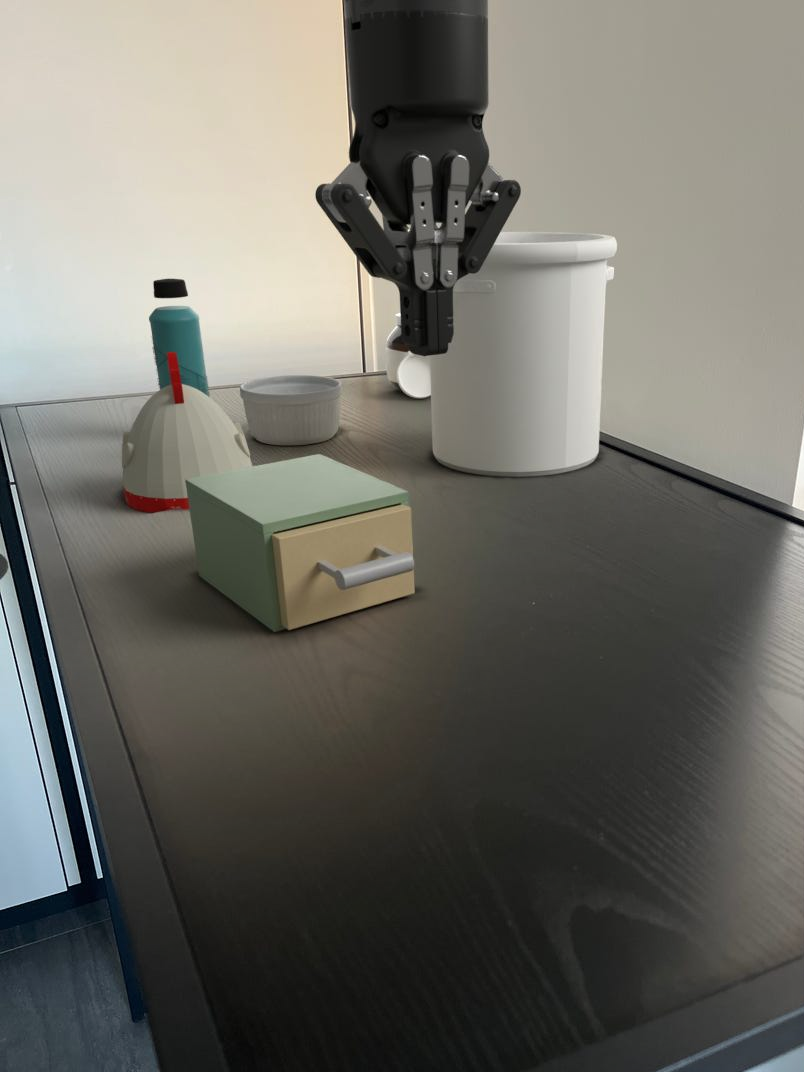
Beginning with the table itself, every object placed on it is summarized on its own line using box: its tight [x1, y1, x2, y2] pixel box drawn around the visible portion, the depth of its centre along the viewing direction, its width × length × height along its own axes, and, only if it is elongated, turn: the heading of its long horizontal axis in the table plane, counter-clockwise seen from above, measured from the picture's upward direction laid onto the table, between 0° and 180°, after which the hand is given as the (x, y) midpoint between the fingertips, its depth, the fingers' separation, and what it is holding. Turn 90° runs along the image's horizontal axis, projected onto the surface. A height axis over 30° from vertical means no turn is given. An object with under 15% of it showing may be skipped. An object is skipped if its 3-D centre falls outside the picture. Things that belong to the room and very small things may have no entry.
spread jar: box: [385, 312, 431, 400], centre depth 152 cm, size 12×11×12 cm
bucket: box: [430, 231, 618, 478], centre depth 114 cm, size 26×22×25 cm
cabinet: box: [185, 453, 410, 633], centre depth 81 cm, size 15×13×9 cm
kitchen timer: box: [121, 352, 254, 514], centre depth 104 cm, size 14×14×15 cm
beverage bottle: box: [148, 278, 211, 398], centre depth 126 cm, size 6×7×20 cm
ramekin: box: [239, 374, 344, 446], centre depth 129 cm, size 13×13×7 cm
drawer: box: [272, 504, 416, 631], centre depth 78 cm, size 18×11×7 cm, turn 37°
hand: (427, 353), depth 58 cm, fingers closed
